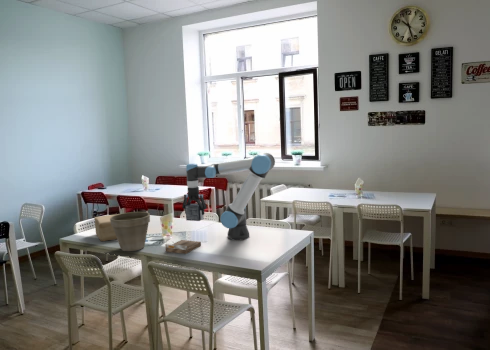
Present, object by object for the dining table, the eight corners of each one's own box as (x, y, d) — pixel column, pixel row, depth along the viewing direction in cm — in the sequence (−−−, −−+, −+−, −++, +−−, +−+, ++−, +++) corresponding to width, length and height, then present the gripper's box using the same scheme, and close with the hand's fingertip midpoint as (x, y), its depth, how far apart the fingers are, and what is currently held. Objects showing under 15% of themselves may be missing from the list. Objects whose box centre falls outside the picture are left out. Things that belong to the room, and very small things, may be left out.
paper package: (131, 228, 321) (130, 211, 319) (139, 236, 299) (137, 217, 297) (94, 234, 309) (93, 216, 307) (100, 242, 286) (98, 222, 284)
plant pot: (105, 249, 269) (102, 216, 266) (137, 240, 287) (135, 209, 284) (126, 256, 252) (123, 221, 249) (159, 246, 270) (157, 214, 268)
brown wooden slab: (201, 245, 270) (200, 238, 269) (185, 254, 253) (185, 246, 253) (181, 243, 276) (181, 236, 275) (165, 251, 259) (164, 244, 259)
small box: (204, 219, 280) (203, 203, 279) (199, 221, 275) (198, 205, 273) (191, 218, 285) (190, 203, 284) (185, 220, 279) (184, 205, 278)
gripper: (210, 186, 275) (212, 218, 278) (181, 185, 285) (183, 216, 288) (205, 188, 269) (207, 221, 271) (175, 187, 278) (177, 219, 281)
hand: (195, 219), depth 280 cm, fingers closed on small box, 10 cm apart
